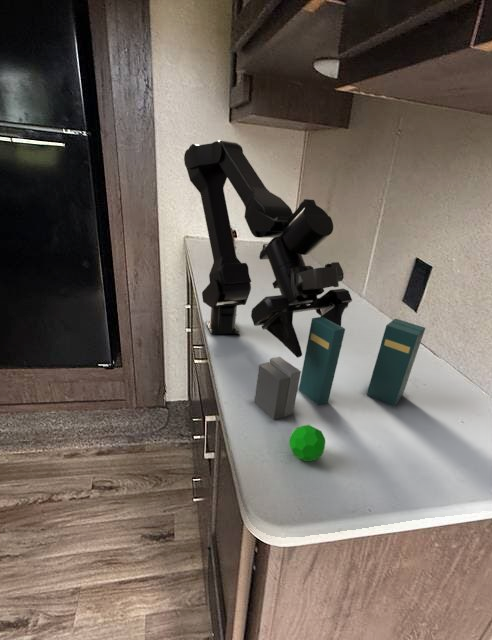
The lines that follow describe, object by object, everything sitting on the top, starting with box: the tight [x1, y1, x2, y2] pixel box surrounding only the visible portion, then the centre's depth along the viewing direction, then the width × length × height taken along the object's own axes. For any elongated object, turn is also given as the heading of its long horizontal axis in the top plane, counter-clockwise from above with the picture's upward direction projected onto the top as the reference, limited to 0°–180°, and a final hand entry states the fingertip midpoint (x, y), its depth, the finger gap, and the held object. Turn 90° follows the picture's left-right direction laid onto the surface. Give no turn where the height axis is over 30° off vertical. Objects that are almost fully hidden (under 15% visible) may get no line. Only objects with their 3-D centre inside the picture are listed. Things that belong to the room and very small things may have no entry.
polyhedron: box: [288, 424, 326, 462], centre depth 55 cm, size 5×5×5 cm
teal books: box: [366, 318, 426, 406], centre depth 72 cm, size 6×5×14 cm
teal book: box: [298, 316, 346, 406], centre depth 68 cm, size 6×2×14 cm, turn 37°
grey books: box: [253, 356, 302, 421], centre depth 64 cm, size 6×4×8 cm
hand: (320, 352), depth 67 cm, fingers open, 9 cm apart
